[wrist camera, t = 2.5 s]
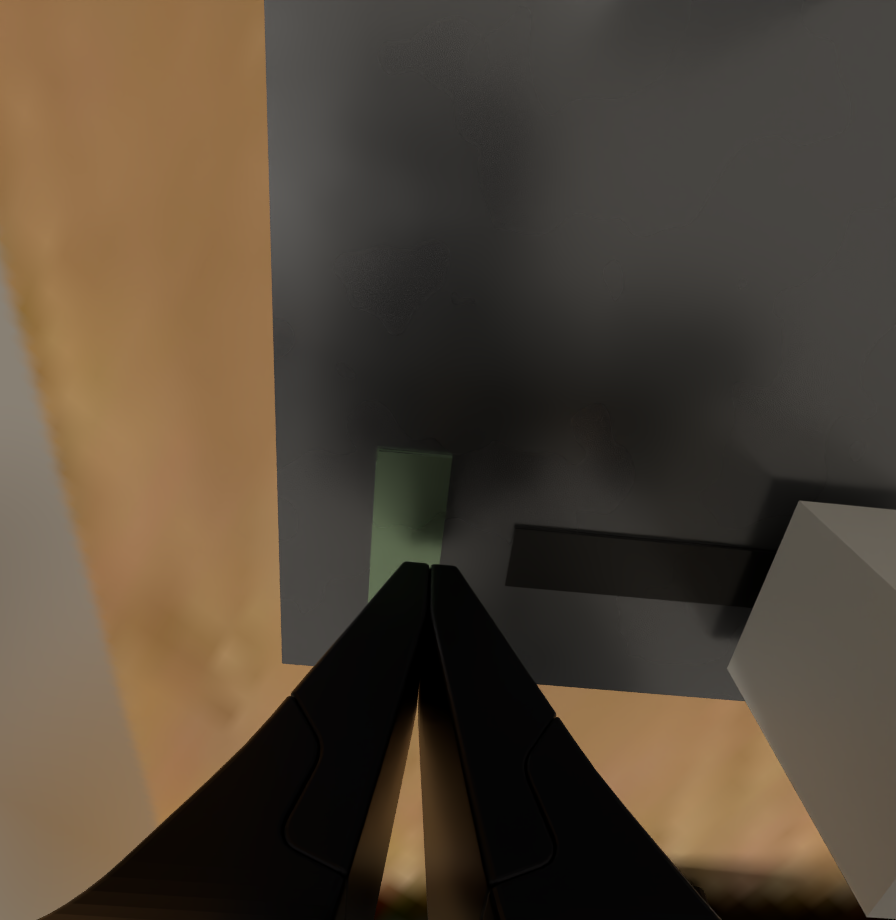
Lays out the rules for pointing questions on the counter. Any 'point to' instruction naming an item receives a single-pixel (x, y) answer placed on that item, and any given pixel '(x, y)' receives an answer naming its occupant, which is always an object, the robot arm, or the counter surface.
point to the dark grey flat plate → (577, 311)
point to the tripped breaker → (833, 684)
